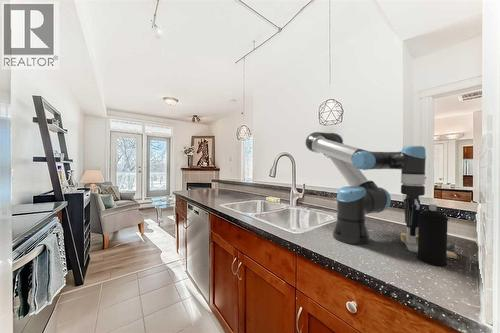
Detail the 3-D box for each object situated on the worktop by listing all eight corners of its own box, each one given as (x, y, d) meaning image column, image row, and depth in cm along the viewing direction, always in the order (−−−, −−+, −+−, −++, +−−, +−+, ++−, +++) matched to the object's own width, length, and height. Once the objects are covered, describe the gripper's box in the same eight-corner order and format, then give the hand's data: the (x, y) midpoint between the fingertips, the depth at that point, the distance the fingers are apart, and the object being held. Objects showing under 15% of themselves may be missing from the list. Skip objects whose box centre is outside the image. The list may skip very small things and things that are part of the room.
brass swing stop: (402, 242, 87) (402, 233, 87) (400, 239, 91) (400, 230, 91) (434, 246, 82) (434, 237, 82) (431, 243, 86) (431, 234, 86)
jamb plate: (409, 250, 82) (409, 248, 82) (401, 238, 95) (401, 236, 95) (432, 254, 79) (432, 252, 78) (421, 241, 92) (421, 238, 92)
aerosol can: (454, 267, 69) (455, 207, 68) (426, 265, 70) (427, 206, 70) (436, 256, 77) (437, 202, 77) (411, 254, 79) (412, 202, 78)
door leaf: (432, 254, 79) (432, 245, 78) (421, 241, 92) (421, 233, 92) (459, 259, 75) (460, 249, 75) (444, 244, 88) (444, 236, 88)
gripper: (431, 187, 76) (429, 250, 76) (417, 183, 88) (416, 238, 89) (406, 186, 79) (405, 247, 79) (396, 182, 91) (395, 236, 91)
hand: (411, 242), depth 84 cm, fingers closed
